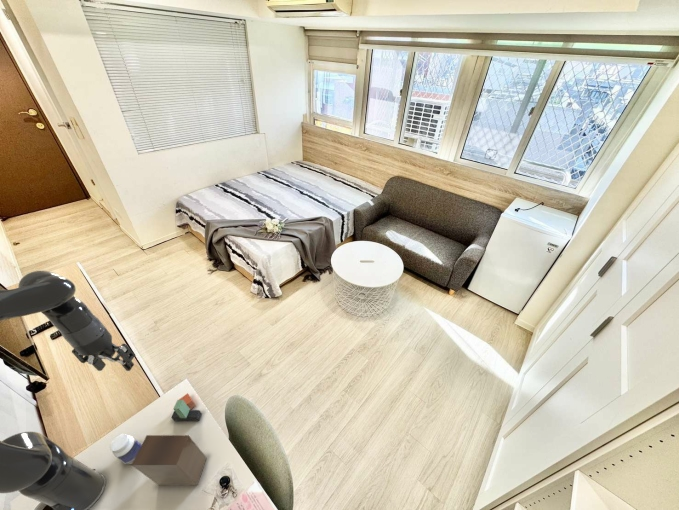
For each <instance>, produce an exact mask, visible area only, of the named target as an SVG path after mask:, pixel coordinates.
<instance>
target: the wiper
mask: <svg viewBox="0 0 679 510" xmlns="http://www.w3.org/2000/svg"><path fill="white" fill-rule="evenodd" d="M173 410H174V411H173V413H172V415H171V416H170V418H171V419H172V421H174V422H200V420H201V417H202V415H203V413H202V412H201V410H200V409H191V410H190V409H189V407H188V406H187V404H186V403H185V402H184V400H179V399H177V400H176V402H175V404H174V406H173Z"/></svg>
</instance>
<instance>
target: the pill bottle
mask: <svg viewBox="0 0 679 510" xmlns="http://www.w3.org/2000/svg"><path fill="white" fill-rule="evenodd" d="M141 445H142V443H140V442H139V441H138V440H137V439H136V438H135V437H134V436H132V435H128V434H126V433H121V434H119V435H117V436H116V437H114V439H112V441H111V443H110V445H109V448H110V451H111V452H112V455H113V456H114V457H115V458H117V459H118V460H119V461H120V462H122V463H123V464H124V465H132V463H133V461H134V459H135V457H136V455H137V453H138V451H139V449H140V447H141Z"/></svg>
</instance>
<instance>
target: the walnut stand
mask: <svg viewBox="0 0 679 510" xmlns="http://www.w3.org/2000/svg"><path fill="white" fill-rule="evenodd" d="M207 459H208V458H207V456H206V455H205V453H204V452H203V451H202V450H201V449H200V448H199V446H198V445H197V444H196V443H195V441H194V440H193V439H192V437H190V436H189V435H188V434H161V435H160V434H159V435H156V434H155V435H153V434H151V435H150V434H149V435H147V434H146V436H145V438H144V440H143V442H142V443H141V447H140V449H139V451H138V453H137V455H136V457H135V459H134V461H133V463H131V466H132V467H133V468H134V469H136V470H137V471H139V472H140V473H141V474H143V476H146V477H147V478H148V479H149V480H151V481H152V482H154V483H155V484H156V485H158V486H198V485H199V482H200V480H201V476H202V473H203V470H204V467H205V464H206V462H207Z"/></svg>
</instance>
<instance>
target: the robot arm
mask: <svg viewBox="0 0 679 510" xmlns="http://www.w3.org/2000/svg"><path fill="white" fill-rule="evenodd" d="M76 291H77V289H76V285H75V284H74V283H73V281H72V280H71V279H68V278H66V277H64V276H62V275H60V274H58V273H55V272H53V271H48V270H35V271H31V272H28V273H26V274H25V275H23V277H21V278H20V280H19V282H18V286H17V287H16V288H12V289H1V288H0V323H2V322H5V321H6V320H10V319H15V318H23V317H26V316H31V315H34V314H39V313H41V314H42V315H44V316H45V317H46V318H47V319H48V321H49V322H50V323H51V324H52V325H53V326H54V328H56V330H57V331H58V332H59V333H60V334H61V336H62V337H63V339H64V340H65V341H66V342H67V343H68V345H69V346H71V347H72V348H73V349H72V350H71V353H72V354H73V355H74V356H75V358H76V359H77V360H78V361H79V362H80V363H81V364H86V363H87V364H88V365H92V367H94V368H95V369H96V370H97V371H98V372H102V371H103V370H104V369H105V367H106V362H104V360H107V361H109V362H111V363H118V364H120V366H122V368H124V370H125V371H126V372H130V371H132V369H133V367H134V366H135V364H134V362H133V359H134V358H135V357H136V354H135V353H134V352H133V350H132V349H131V347H129V345H127V344H126V343H122V344H121V345H117V344H114V343H113V335H112V334H111V333H110V331H109V330H108V329H107V327H106V326H105V324H103V322H102V320H100V319H99V318H98V317H97V316H96V315H95V314H94V313H93V312H92V310H91V309H90V308H89V306H88V305H87V304H86V303H84V302H83V301H82V300H80V299H79V298H77V297H76V296H75V294H76ZM115 354H116V356H115ZM114 356H115V357H114ZM106 480H107V479H106V477H105V476H104V475H103V474H101V473H99V472H97V471H96V468H91V467H89V466H88V465H86V464H84V463H83V462H81V461H79V460H77V458H75V457H72V455H70V454H68V453H67V452H66V451H65V450H64V449H63V448H62V447H61V446H60V445H58V444H57V443H55V442H54V441H52V440H51V439H50V438H48V437H47V436H45V435H44V434H42V433H40V432H37V431H23V432H19V433H16V434H13V435H11V436H8V437H6V438H5V439H3V440H0V494H11V493H15V492H19V493H20V494H21V495H22V496H24V497H27V498H29V499H32V500H34V501H37V502H39V503H41V504H44V505H47V506H49V507H51V508H52V510H90V509H91V508H92V507H93V506H94V505H95V504H96V503H97V502H98V500H99V499H100V498H101V497H102V495H103V493H104V491H105V489H106V483H107V481H106Z"/></svg>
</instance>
